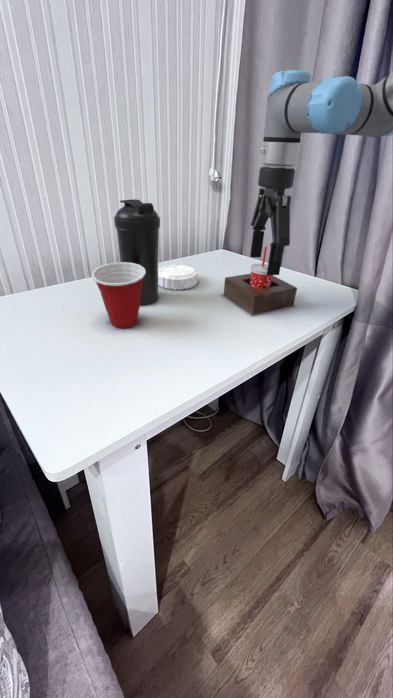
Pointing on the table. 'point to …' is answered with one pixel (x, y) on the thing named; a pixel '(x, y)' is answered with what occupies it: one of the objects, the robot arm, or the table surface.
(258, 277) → the beverage cup
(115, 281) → the plastic cup
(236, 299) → the holder
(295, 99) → the robot arm
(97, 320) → the table surface
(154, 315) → the table surface
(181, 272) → the mooncake
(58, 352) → the table surface
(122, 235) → the water bottle
